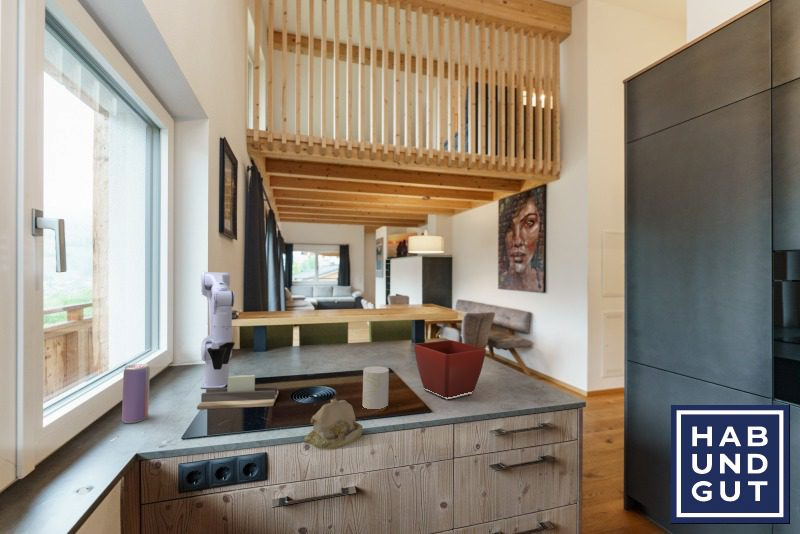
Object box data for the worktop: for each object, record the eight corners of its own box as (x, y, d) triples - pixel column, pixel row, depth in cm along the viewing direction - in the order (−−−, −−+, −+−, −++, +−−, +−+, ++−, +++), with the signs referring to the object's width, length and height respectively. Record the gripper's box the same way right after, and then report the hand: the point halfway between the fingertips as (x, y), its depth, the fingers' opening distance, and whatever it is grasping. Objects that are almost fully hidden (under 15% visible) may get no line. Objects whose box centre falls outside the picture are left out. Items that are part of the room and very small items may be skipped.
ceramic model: (317, 454, 84) (318, 411, 84) (299, 436, 93) (300, 398, 93) (368, 439, 93) (369, 400, 93) (347, 423, 101) (347, 388, 102)
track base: (210, 395, 121) (210, 385, 121) (278, 393, 125) (278, 383, 125) (197, 409, 109) (197, 397, 109) (272, 406, 113) (273, 394, 113)
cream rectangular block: (228, 397, 117) (228, 376, 117) (254, 395, 119) (255, 374, 119) (227, 399, 115) (227, 377, 115) (253, 397, 117) (254, 376, 117)
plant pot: (486, 396, 127) (487, 348, 128) (446, 406, 117) (447, 354, 117) (450, 381, 143) (451, 339, 144) (411, 389, 132) (412, 344, 133)
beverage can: (134, 425, 97) (136, 369, 97) (116, 422, 98) (118, 367, 99) (153, 416, 103) (155, 364, 103) (136, 414, 104) (138, 362, 104)
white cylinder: (357, 407, 114) (358, 369, 114) (375, 401, 120) (376, 365, 120) (374, 414, 108) (375, 374, 109) (393, 407, 114) (394, 369, 114)
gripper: (216, 323, 128) (215, 362, 128) (201, 329, 114) (200, 372, 113) (237, 323, 129) (236, 361, 129) (225, 329, 115) (224, 371, 115)
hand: (221, 366), depth 121 cm, fingers open, 7 cm apart
